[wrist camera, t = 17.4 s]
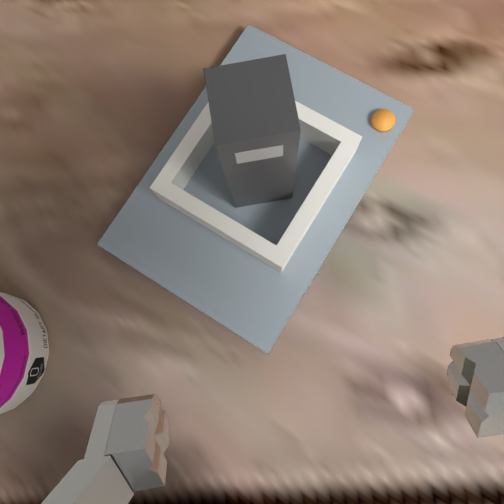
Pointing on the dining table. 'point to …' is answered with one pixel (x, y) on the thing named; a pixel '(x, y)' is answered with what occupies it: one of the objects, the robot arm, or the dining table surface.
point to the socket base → (259, 215)
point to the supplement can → (20, 351)
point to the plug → (255, 128)
